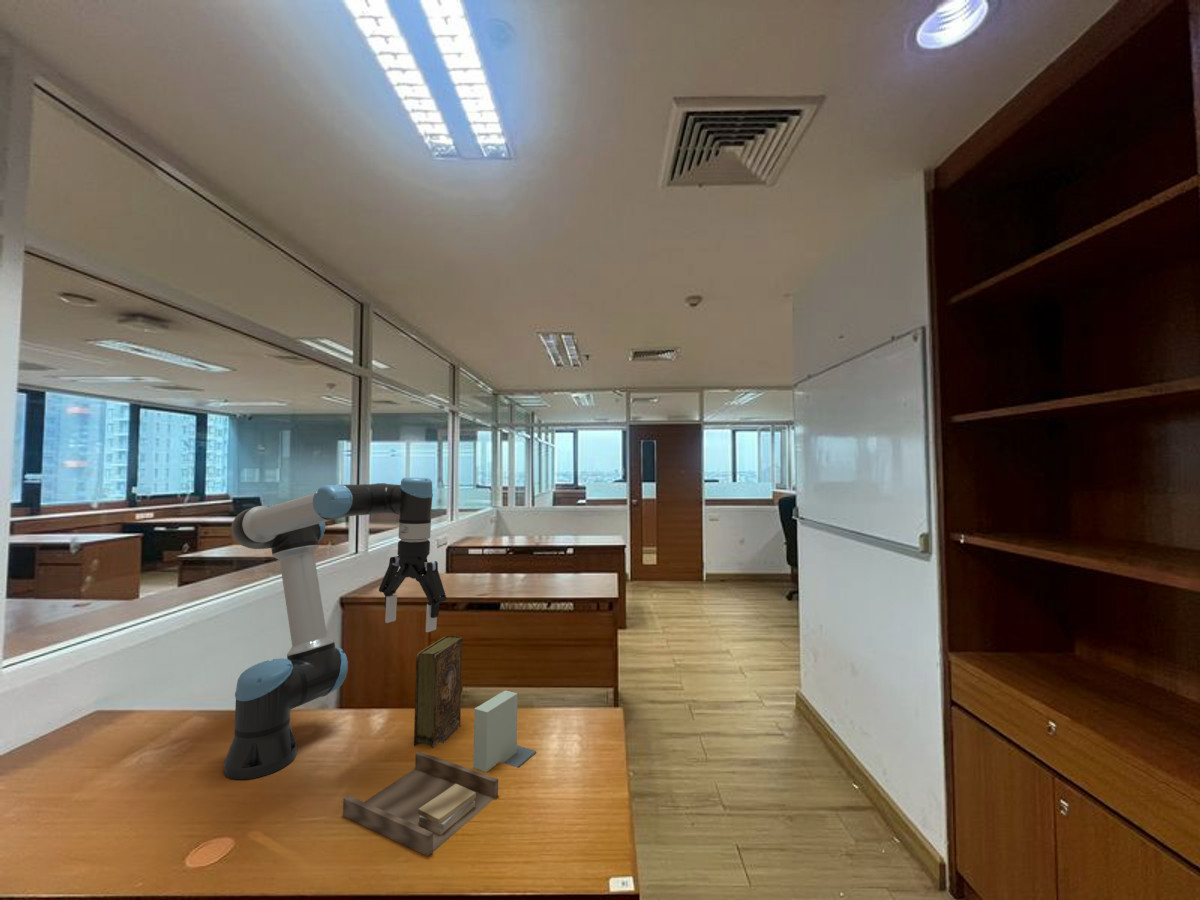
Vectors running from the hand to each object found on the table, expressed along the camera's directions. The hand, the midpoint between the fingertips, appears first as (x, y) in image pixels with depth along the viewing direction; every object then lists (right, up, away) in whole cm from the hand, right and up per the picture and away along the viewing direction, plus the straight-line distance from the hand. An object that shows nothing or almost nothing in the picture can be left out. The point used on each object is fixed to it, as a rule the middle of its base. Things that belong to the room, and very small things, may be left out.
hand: (410, 626), depth 126 cm
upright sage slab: (+21, -35, +1) cm, 40 cm away
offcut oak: (+15, -30, -20) cm, 39 cm away
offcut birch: (+15, -32, -20) cm, 41 cm away
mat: (+21, -35, +1) cm, 41 cm away
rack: (+9, -34, -17) cm, 39 cm away
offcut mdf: (+15, -31, -20) cm, 40 cm away
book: (+3, -36, +14) cm, 38 cm away
